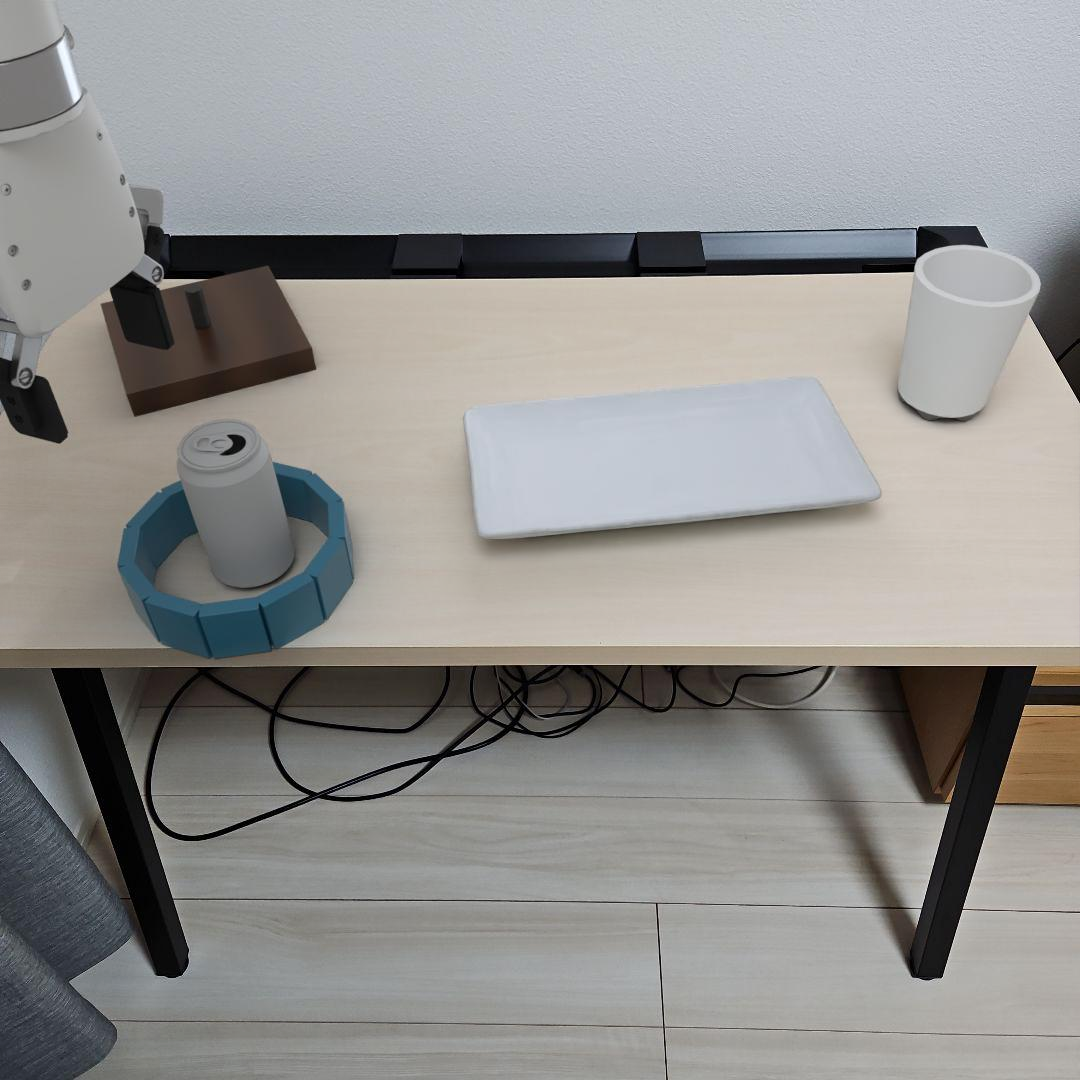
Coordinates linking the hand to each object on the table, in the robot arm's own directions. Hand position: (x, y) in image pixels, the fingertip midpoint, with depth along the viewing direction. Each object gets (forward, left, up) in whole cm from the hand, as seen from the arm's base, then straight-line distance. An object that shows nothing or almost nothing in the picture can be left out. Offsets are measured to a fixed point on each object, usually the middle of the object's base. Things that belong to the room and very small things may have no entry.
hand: (99, 387), depth 60 cm
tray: (+39, +1, -22) cm, 45 cm away
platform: (+9, +37, -22) cm, 44 cm away
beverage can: (+6, +5, -22) cm, 23 cm away
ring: (+5, +5, -22) cm, 23 cm away
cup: (+67, -1, -22) cm, 70 cm away
